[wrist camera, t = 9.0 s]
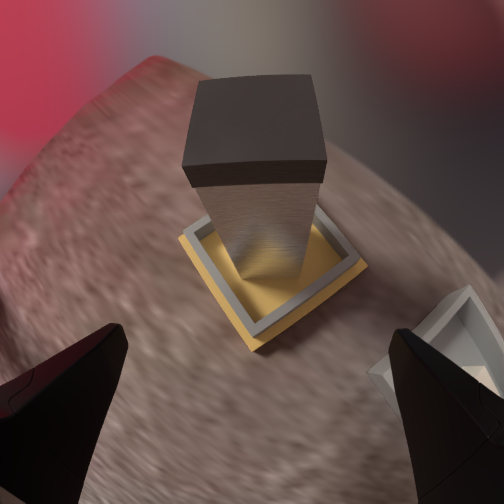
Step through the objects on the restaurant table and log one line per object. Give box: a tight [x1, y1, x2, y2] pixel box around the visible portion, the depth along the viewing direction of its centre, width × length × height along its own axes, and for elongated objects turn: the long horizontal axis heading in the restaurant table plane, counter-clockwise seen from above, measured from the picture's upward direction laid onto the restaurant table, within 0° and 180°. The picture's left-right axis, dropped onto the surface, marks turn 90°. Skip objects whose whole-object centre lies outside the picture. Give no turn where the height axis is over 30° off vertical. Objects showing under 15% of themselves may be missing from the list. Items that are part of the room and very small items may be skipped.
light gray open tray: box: [366, 284, 504, 423], centre depth 15 cm, size 12×9×4 cm
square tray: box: [178, 204, 368, 352], centre depth 21 cm, size 10×10×3 cm
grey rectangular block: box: [182, 75, 327, 279], centre depth 15 cm, size 4×4×13 cm
